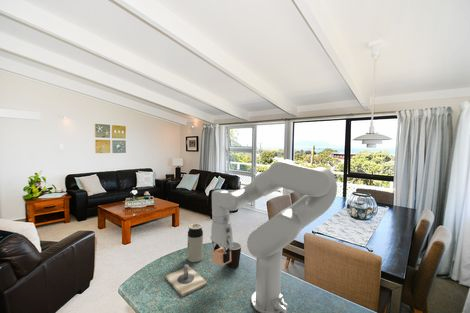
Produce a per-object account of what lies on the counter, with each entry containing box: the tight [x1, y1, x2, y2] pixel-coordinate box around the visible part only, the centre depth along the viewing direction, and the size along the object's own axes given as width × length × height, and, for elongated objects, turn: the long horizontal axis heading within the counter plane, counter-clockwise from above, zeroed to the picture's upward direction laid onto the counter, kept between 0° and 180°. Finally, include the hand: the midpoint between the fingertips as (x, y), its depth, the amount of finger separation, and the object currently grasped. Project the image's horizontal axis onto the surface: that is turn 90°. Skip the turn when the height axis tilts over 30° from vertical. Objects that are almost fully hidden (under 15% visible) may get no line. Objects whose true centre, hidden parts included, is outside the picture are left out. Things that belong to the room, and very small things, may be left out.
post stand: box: [165, 263, 208, 298], centre depth 94 cm, size 16×12×7 cm
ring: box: [211, 246, 231, 267], centre depth 93 cm, size 6×6×4 cm
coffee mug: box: [225, 241, 242, 269], centre depth 110 cm, size 12×9×10 cm
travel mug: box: [187, 223, 204, 263], centre depth 113 cm, size 8×8×18 cm
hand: (221, 258), depth 93 cm, fingers closed on ring, 6 cm apart
